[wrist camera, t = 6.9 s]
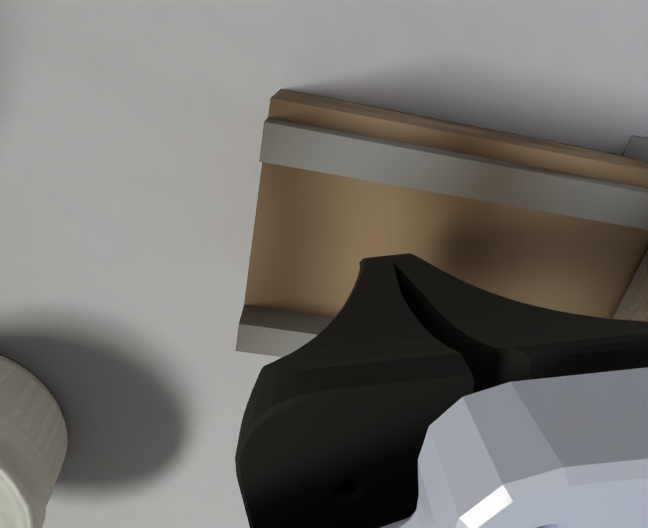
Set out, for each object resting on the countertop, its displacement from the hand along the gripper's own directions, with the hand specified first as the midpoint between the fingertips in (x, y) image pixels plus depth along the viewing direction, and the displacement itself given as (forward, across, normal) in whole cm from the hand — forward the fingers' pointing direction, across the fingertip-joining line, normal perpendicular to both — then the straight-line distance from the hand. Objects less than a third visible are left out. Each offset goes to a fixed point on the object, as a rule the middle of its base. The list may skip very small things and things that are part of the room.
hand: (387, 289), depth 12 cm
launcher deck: (+8, -3, +1) cm, 8 cm away
